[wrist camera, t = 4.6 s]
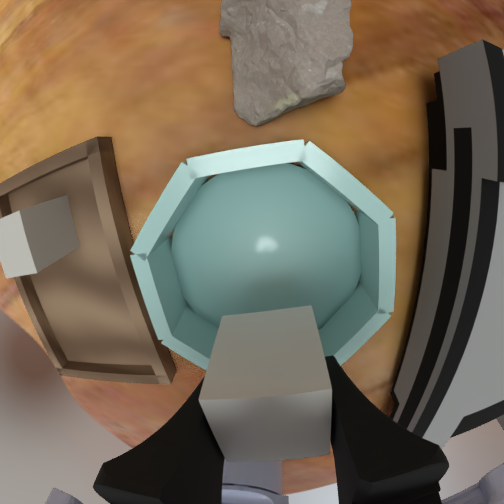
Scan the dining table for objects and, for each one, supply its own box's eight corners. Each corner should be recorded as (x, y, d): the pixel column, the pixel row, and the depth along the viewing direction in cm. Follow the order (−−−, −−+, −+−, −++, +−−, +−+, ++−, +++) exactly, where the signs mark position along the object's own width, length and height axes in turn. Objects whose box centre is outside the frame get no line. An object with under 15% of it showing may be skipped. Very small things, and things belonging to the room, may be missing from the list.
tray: (176, 370, 23) (171, 384, 21) (68, 364, 24) (60, 375, 22) (110, 137, 17) (97, 136, 15) (4, 185, 18) (-10, 189, 16)
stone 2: (315, 371, 14) (329, 454, 9) (238, 379, 14) (227, 461, 9) (311, 305, 12) (331, 388, 8) (222, 315, 13) (198, 399, 8)
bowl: (370, 330, 20) (387, 365, 16) (192, 351, 22) (178, 388, 18) (361, 137, 16) (388, 133, 12) (143, 172, 17) (111, 178, 13)
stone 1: (80, 246, 19) (37, 272, 14) (47, 253, 19) (6, 278, 14) (67, 195, 18) (19, 210, 13) (34, 207, 18) (-11, 223, 13)
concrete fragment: (220, 124, 17) (195, 110, 11) (225, -42, 12) (211, -90, 6) (334, 127, 16) (366, 116, 10) (324, -40, 12) (338, -87, 6)
